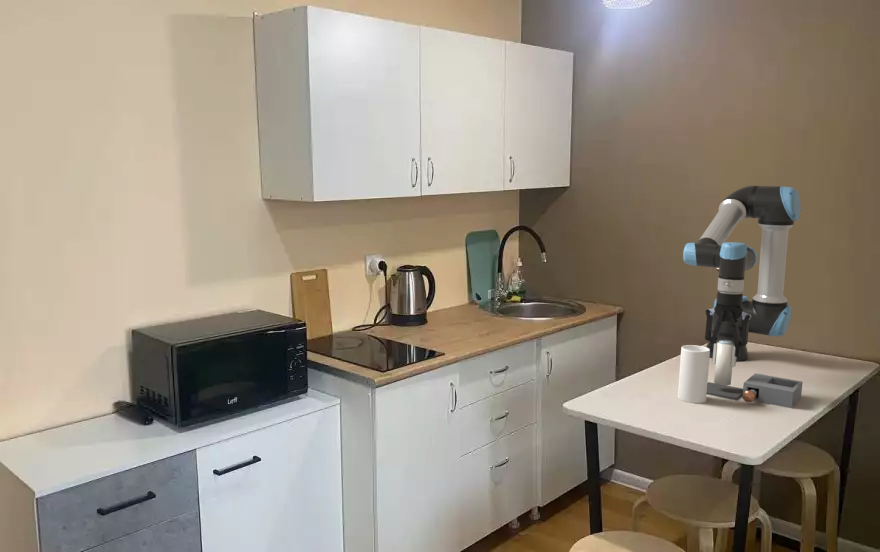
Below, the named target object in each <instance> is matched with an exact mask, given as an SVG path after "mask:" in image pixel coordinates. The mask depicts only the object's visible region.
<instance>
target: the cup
mask: <svg viewBox="0 0 880 552" xmlns="http://www.w3.org/2000/svg"><path fill="white" fill-rule="evenodd" d="M709 356H710V349H709V348H706V346H702V345H695V344H686V345H682V346H681V350H680V359H679V360H680V361H679V372H678V373H679V374H678V389H677V391H678V392H677V399H679V401H682V402H685V403H689V404H703V403H706V402H707V395H708V394H707V383H708V381H709V379H708V378H709V367H710V357H709Z"/></svg>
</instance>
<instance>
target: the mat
mask: <svg viewBox="0 0 880 552" xmlns="http://www.w3.org/2000/svg"><path fill="white" fill-rule="evenodd" d="M706 395H708V396H714V397H718V398H724V399H727V400H732V401H733V400H734V401H737V400H738V399H740V398H741V397H742V396H743V388H742V387H736V386H731V385H719V384H716V383H714V382H708V381H707V394H706Z"/></svg>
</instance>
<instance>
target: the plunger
mask: <svg viewBox="0 0 880 552" xmlns="http://www.w3.org/2000/svg"><path fill="white" fill-rule="evenodd" d="M758 393H759V389H757V388H752V389H751V390H747V391H745V392H744V393H743V395H742V396H741V397H743V399H742V400H743V401H744V402H746V403H752V402H755V401H754V400H755V398H756V395H757V394H758Z"/></svg>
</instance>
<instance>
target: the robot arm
mask: <svg viewBox="0 0 880 552" xmlns="http://www.w3.org/2000/svg"><path fill="white" fill-rule="evenodd" d="M801 211H802V210H801V196H800V194H799V191H798V190H797V189H796V188H795V187H791V186H784V185H779V186H778V185H777V186H776V185H747V186H744V187H741V188H739V189H736V190H735V191H732V192H731V193H730V194H728V195H727V196H726V197H725V198H724V199H723V200H722V201H721V202H720V204H719V206H718V212H717V213H716V215H715V216H714V218H713V219H712V221H710V224H709V225H708V227H707V228H706V229H705V231H704V232H703V234H702V235H701V236H700V238H699V240H698V241H697V242H695V241H694V242H688V243H687V242H686V244H685V245H684V248H683V252H682V254H683V255H682V259H683V262H684V264H685V265H688V266H689V265H690V266H693V267H702V268H703V267H704V268H705V267H706V268H716V269H718V278H717V293H716V298H715V299H714V301H713V303H714V304H713V308H707V309H706V310H705V314H706V323H705V334H704V339H705V341H708V342H707V344H706V346H705V347H706V348H709V349H710V356H709V358H712V363H711V364H712V365H715V364H716V352H717V342H718V341H719V340H730V341H732V342H733V343H734V346H733V348H732V359H731V367H732V368H734V367H736V365H737V362H742V361H746V360H748V357H749V351H748V346H747V344H748V342H749V333H752V334H757V335H765V336H769V337H771V336H772V337H782V336H784V335H785V334H786V333H787V331H788V329H789V326H790V323H791V320H792V315H793V307H792V306H791V305H788V299H787V297H785V295H784V290H785V289H784V288H785V278H786V276H785V275H786V263H787V253H788V242H789V230H790V229H791V228H792V227H793V226H794V225H795V222H796V221H799V219H800V216H801ZM747 218H749V219H757V221H758V222H757V224H758V226H759V227H760V228H761V240H760V241H761V242H760V253H759V255H760V256H759V255H758V252H757V251H756V249H754V248H753V247H751V246H748V245H747V244H746V243H743V242H738V241H737V242H735V241H727V239H728V238H729V236H730V235H731V234H732V233H733V231H734V229H735V227H736V226H737V224H738V223H740V222H742V221H743V220H744V219H747ZM758 257H759V258H758ZM758 260H759V266H758V267H759V269H758V278H757V279H758V283H757V293H756V294H755V295H754V296H752V300H749V298H748V296H746V295H743V292H744V289H745V288H744V286H745V272H746V271H749V270H750V269H752V268H753V267H755V266H756V264H757V263H758Z"/></svg>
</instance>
